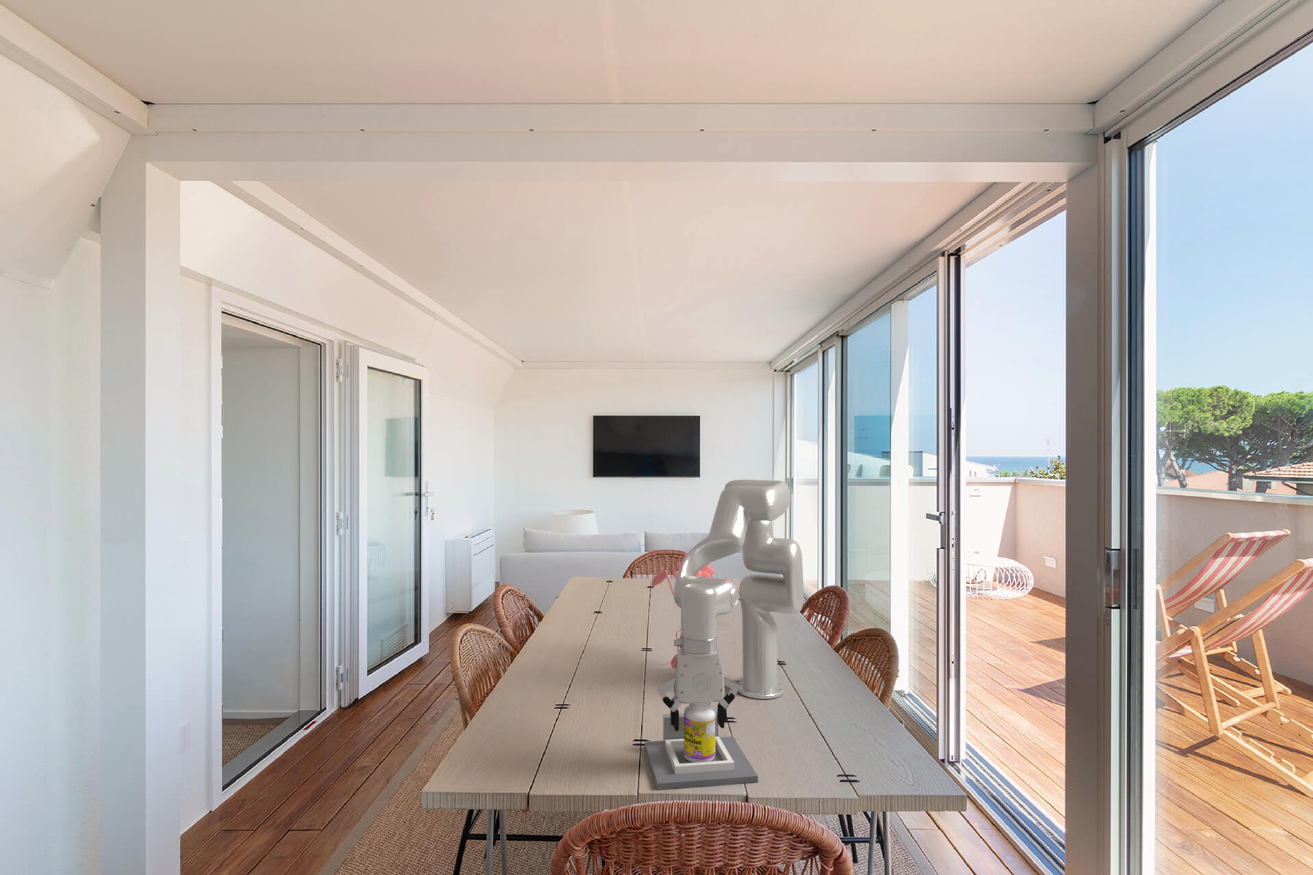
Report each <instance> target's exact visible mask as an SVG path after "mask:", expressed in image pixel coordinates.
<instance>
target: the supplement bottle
mask: <svg viewBox="0 0 1313 875" xmlns="http://www.w3.org/2000/svg"><path fill="white" fill-rule="evenodd" d="M711 703H712V702H708V703H690V704H688V705H687V706H686V707H685V708H684V712H683V713H684V757H685V758H686V759H687V760H688V761H690V762H692V763H698V762H711V761H712V760H713V759H714V758H715V736H716V712H717V711H716V710H715V708H714V707H713V706H712V705H711ZM715 711H716V712H715Z"/></svg>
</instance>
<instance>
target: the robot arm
mask: <svg viewBox="0 0 1313 875" xmlns="http://www.w3.org/2000/svg"><path fill="white" fill-rule="evenodd" d="M791 498H792V497H791V491H790V486H789V485H788V484H787V483H786V482H785V481H782V480H775V479H774V480H773V479H772V480H771V479H770V480H769V479H768V480H767V479H734V480H733V479H732V480H729V481H727V482H726V484H725V486H724V488H723V490H722V491H721V493H720V495H719V498H718V502H717V505H716V508H715V512H714V516H713V519H712V523H711V526H710V529H709V533H708V535H707V536H706V537H705V538H703V539H702V540H700V541H699V542H698V543H696V545H694V546H693V547H692V548H691V549H690V550H689V551H688V552H687V553H686V554H687V555H686V556H685V557H684V556H683V557H684V559H683V558H682V561H681V562H682V563H681V565H680V568H679V571H678V570H677V571H678V575H677V578H675V582H674V588H673V591H674V595H673V600H674V603H675V604H676V606H677V607H679V608H680V629H681V630H680V635H679V638H677V640H676V639H674V640H673V644H674V647H677V646H678V652H677V653H676V654H677V657H676V664H675V669H674V675H673V678H671V679H670V680H669V681H666V682H665V683H664V684H662V685H660V686H659V687H658V686H657V692H658V694H659V697H660V698H661V699H662V702H663V704H664V705H665V706H667V707H668V708H669V709H670V710H669V711H670V712H669V714H670V723H671V726H672V725H673V727H674V729H675V731H678V730H679V713H680V712H679V709H678V708H680V706H681V705H682V704H686V705H687V704H688V705H690V703H708V702H711V703H717V704H716V706H717V708H716V710H717V711H716V712H717V722H718V727H719V728H721V729H725V723H727V721H728V720H727V718H728V716H727V714H728V713H727V712H728V711H727V709H728V708H729V707H730V706H729V705H730V704H731V703H732V702H733V701H734V700H735V698H736V695H737V694H740V695H741V696H745V697H747V698H750V699H751V698H752V699H757V700H758V699H759V700H771V699H776V698H779V697H781V696H783V694H784V687H783V686H782V685H781V684H780V683H778V626H777V623H776V621H775V619H774V617H773V616H772V614H771V613H779V614H791V615H792V614H793V615H795V614H799V613H800V612H801V611H802V609H803V606H804V601H805V600H804V598H805V591H804V590H805V589H804V588H805V587H804V572H803V570H804V568H803V555H802V550H801V547H800V545H799V543H798V542H797V541H796V540H794V539H792V538H783V537H782V538H781V537H779V538H778V537H775V536H774V532H773V529H774V528H773V521H775V520H777V519H778V518H780V517H781V516H782V515H784V514H785V513H786V512H787V510H788V509H789V507H790V504H791V500H792V499H791ZM741 550H742V552H741V553H742V560H743V564H744V567H745V568H746V569H747V570H748V571H750V572H756V573H764V574H750V575H747V576H745V577H743V578H742V579H741V581H740V583H739V585H738V586H739V587H738V586H737V585H736V584H734V583H735V582H734V581H732V580H731V581H732V582H731V581H729V580H730V579H729V580H726V579H725V578H718V577H717V578H716V577H712V578H710V577H699V576H696V574H697V573H698V572H699V570H700V569H701V568H703V567H704V566H705V565H707V564H709V565H710V564H711V563H712V562H715V561H717V560H721V559H724V558H726V557H730V556H731V555H735V554H736V553H737V554H738V553H739V552H740V551H741ZM766 573H767V574H778V575H782V576H774V575H765V574H766ZM736 586H737V587H736ZM738 588H739V589H738ZM738 601H740V607H741V617H742V680H741V681H739V682H738V683H737V682H735V681H733V680H731V679H728V678H727V677H725V676H724V675H725V674H724V666H723V665H724V664H723V657H722V653H721V651H720V650H719V649H718V648H717V646H718V645H717V636H718V635H717V632H718V631H717V616H721V615H726V614H729V613H731V612H732V611H733V610H734V609H735V608H736V606H737V605H738ZM725 687H728V688H729V691H728V692H726V693H725ZM672 689H673V693H674V695H673V697H672V698H669V696H668V695H667V692H669V691H670V690H672Z"/></svg>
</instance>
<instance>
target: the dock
mask: <svg viewBox="0 0 1313 875" xmlns="http://www.w3.org/2000/svg"><path fill="white" fill-rule="evenodd" d="M715 712H716V736H715V758H714V759H713V760H712V761H711V762H698V763H692V762H690V761H688V760H687V759H686V758H685V757H684V712H679V730H678V731H675V729H674V727H673V725H672V726H671V723H670V713H663V715H662V716H663V717H662V720H663V721H662V724H663V725H662V740H655V741H645V742H644V749H645V753H646V755H647V759H648V763H649V766H650V769H651V773H652V775H653V779H654V783H655V785H656V786H655V787H656V789H657V791H660V790H661V791H662V790H673V789H674V790H675V789H676V790H677V789H685V788H686V789H687V788H700V787H713V786H724V784H725V786H726V784H728V785H737V784H736V783H741V784H751V783H750V782H754V783H759V775H758V773H757V772H756V770H755V769H754V768H753V766H752V765H751V762H750V761H749V759H748V758H747V756H746V754H745V753H744V752H743V750H742V749H741V747H740V745H739V744H738V743H737V741H736V739H735V737H734V736H733V735H732V736H730V735H729V736H721V737H720V736H719V724H718V722H717V711H716V710H715ZM746 782H747V783H746Z"/></svg>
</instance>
